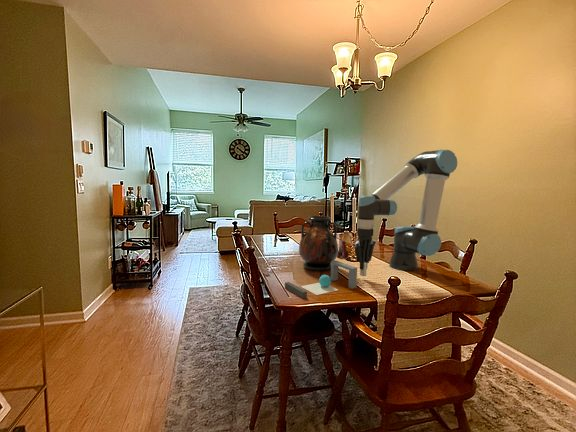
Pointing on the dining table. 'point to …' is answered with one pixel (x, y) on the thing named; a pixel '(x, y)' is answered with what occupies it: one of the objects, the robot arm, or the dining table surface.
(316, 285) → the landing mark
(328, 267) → the amphora vase
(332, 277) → the bridge
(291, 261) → the dining table surface
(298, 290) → the stopper
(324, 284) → the ball
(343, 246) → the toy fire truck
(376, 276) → the dining table surface
